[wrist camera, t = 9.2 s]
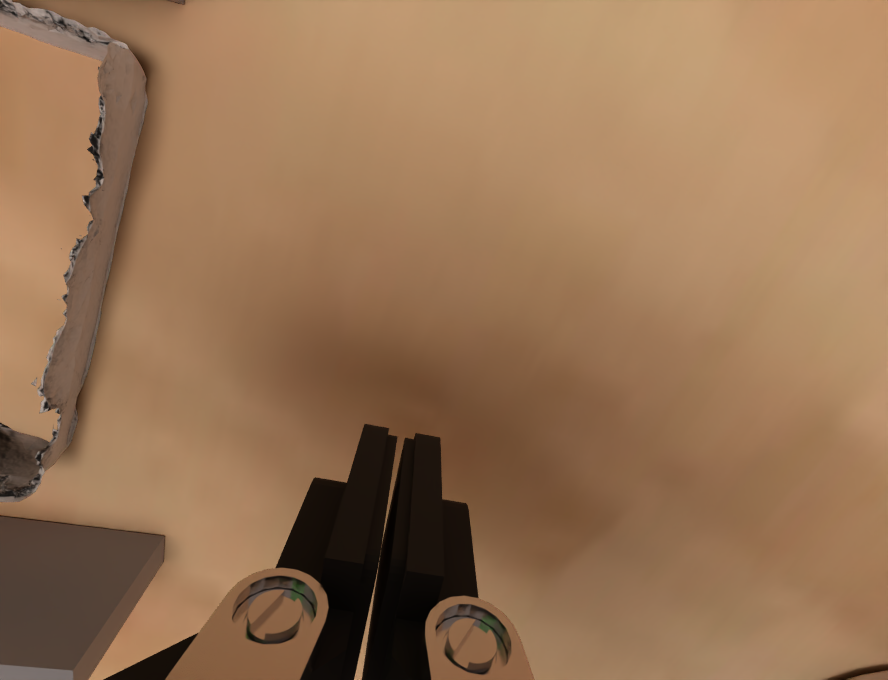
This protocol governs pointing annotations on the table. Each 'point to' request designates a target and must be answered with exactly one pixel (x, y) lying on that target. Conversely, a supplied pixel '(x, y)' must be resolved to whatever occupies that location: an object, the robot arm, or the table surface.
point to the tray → (67, 593)
